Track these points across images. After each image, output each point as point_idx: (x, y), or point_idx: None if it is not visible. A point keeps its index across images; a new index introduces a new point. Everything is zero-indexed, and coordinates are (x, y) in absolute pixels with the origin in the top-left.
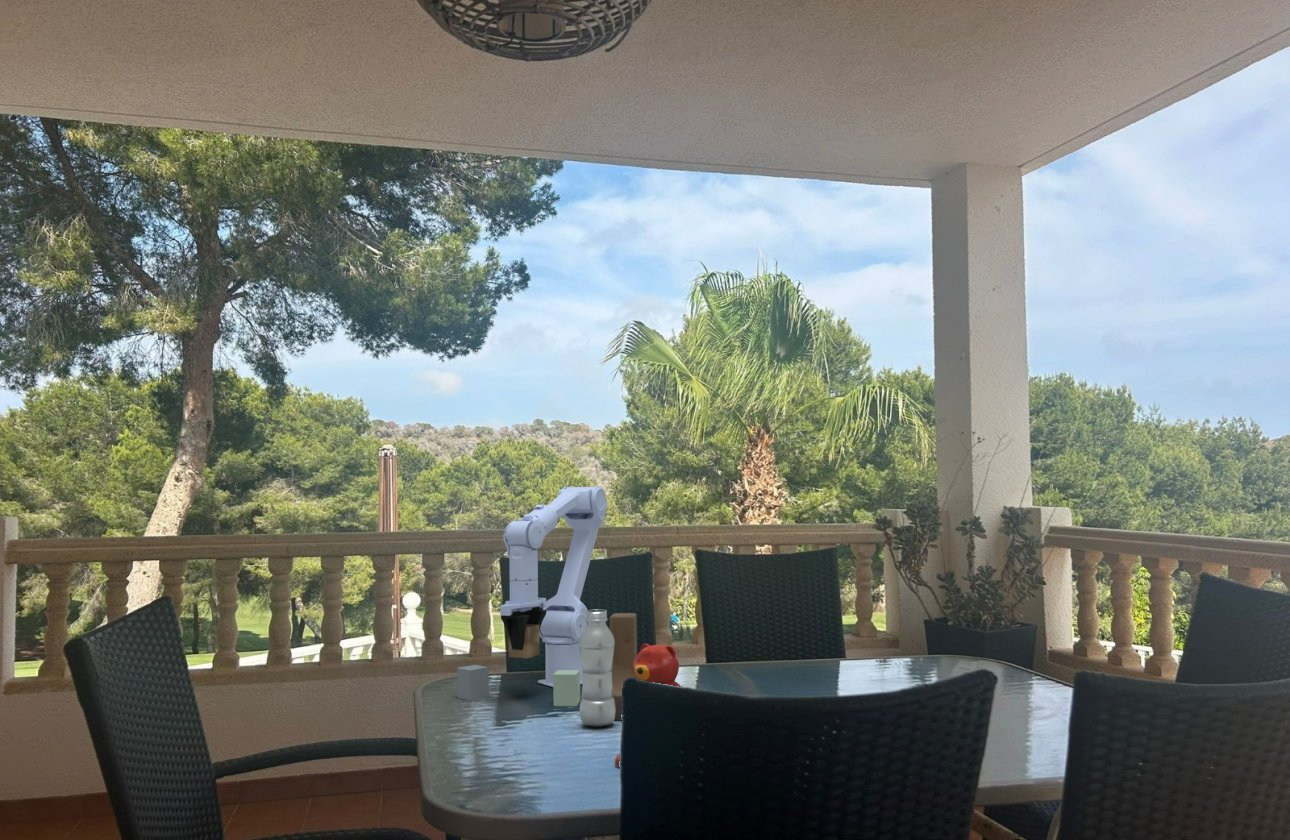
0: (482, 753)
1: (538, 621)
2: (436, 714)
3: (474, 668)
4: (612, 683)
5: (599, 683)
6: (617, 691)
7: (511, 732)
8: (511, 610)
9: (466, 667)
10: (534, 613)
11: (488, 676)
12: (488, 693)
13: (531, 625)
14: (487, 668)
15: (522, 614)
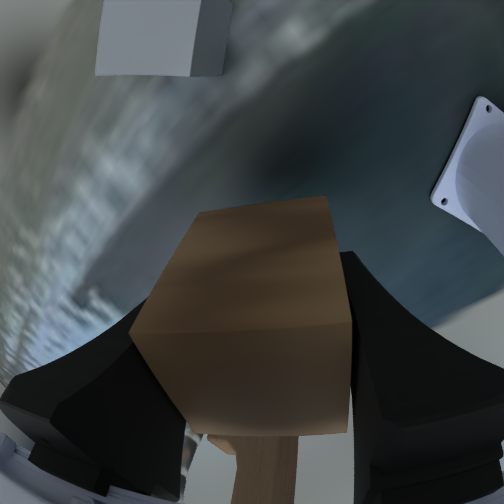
0: (25, 345)
1: (354, 447)
2: (27, 139)
3: (132, 50)
4: (233, 450)
5: None
6: (226, 447)
7: (74, 336)
8: (45, 487)
9: (130, 4)
10: (359, 491)
11: (202, 75)
12: (218, 75)
13: (294, 420)
14: (184, 76)
15: (375, 424)
